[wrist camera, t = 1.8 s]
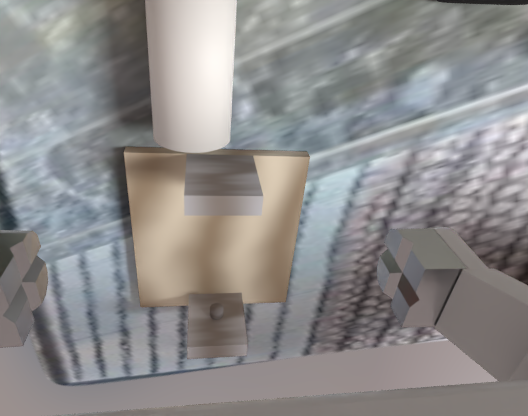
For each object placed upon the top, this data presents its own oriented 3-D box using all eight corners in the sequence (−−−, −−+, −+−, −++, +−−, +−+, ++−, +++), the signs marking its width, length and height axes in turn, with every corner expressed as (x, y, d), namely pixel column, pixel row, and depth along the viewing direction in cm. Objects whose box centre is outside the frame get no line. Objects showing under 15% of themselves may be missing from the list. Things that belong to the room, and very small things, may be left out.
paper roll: (170, -42, 25) (122, -44, 20) (250, -33, 24) (218, -33, 19) (175, 121, 30) (139, 147, 26) (239, 134, 29) (213, 163, 25)
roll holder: (307, 151, 32) (330, 196, 26) (283, 294, 41) (297, 352, 35) (125, 146, 30) (108, 194, 24) (141, 299, 38) (131, 362, 33)
